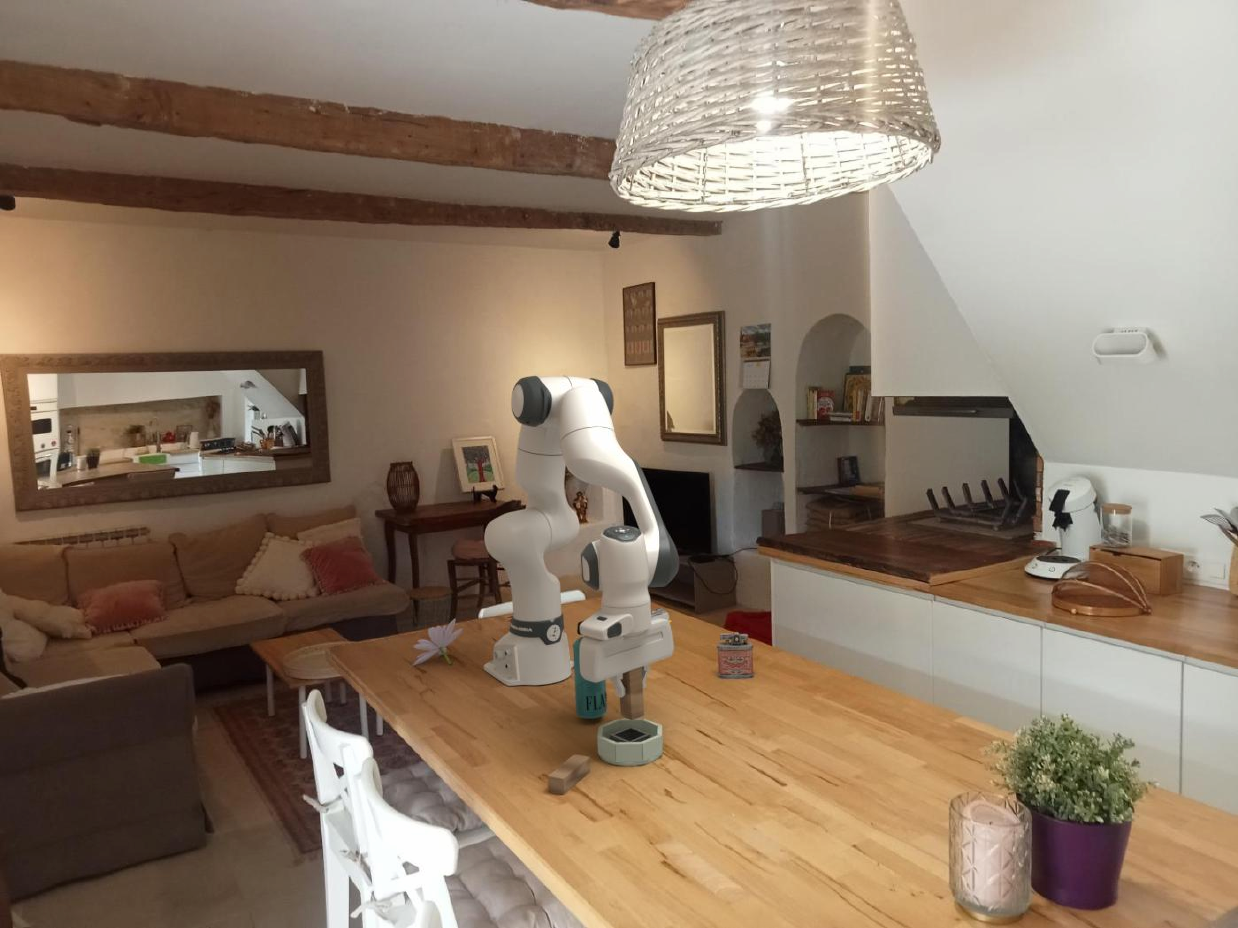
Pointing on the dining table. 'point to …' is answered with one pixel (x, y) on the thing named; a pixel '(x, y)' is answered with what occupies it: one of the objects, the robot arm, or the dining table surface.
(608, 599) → the robot arm
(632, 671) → the wooden post
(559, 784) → the small wooden block
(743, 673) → the lighter
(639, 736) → the wick clip
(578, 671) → the beverage bottle
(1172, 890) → the dining table surface
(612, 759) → the faceted green bowl
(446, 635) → the water lily
